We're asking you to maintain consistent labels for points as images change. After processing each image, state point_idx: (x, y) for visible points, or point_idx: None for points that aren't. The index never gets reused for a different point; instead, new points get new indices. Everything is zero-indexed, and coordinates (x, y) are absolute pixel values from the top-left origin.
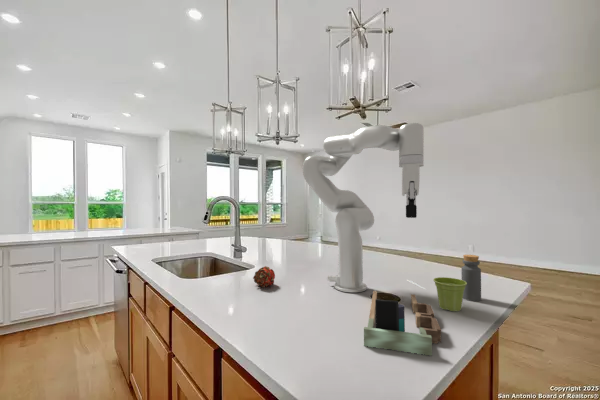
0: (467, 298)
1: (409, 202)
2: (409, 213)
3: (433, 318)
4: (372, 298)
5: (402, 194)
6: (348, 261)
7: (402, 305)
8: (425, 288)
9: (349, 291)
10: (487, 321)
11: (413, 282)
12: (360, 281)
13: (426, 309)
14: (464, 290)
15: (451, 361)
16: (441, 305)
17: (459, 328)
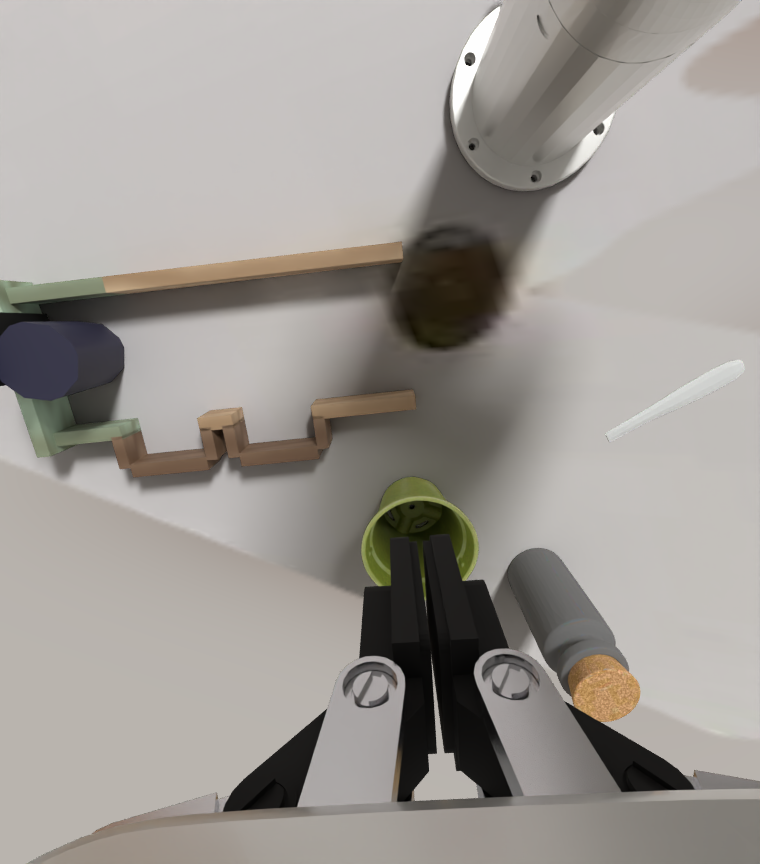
0: (513, 562)
1: (299, 742)
2: (367, 600)
3: (204, 462)
4: (300, 255)
5: (98, 839)
6: (510, 10)
7: (52, 394)
8: (618, 437)
9: (450, 115)
10: (343, 580)
11: (695, 391)
12: (514, 149)
13: (314, 442)
14: (529, 570)
15: (71, 479)
16: (393, 484)
17: (260, 512)
